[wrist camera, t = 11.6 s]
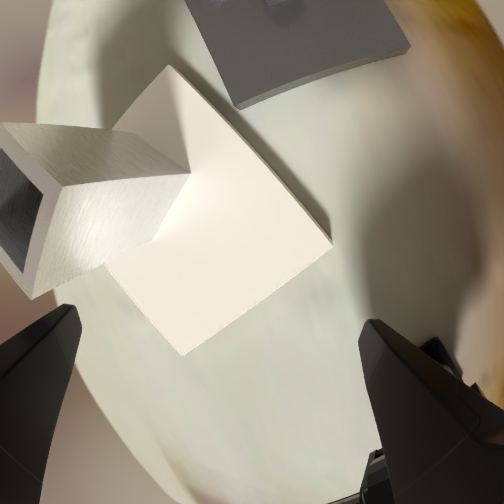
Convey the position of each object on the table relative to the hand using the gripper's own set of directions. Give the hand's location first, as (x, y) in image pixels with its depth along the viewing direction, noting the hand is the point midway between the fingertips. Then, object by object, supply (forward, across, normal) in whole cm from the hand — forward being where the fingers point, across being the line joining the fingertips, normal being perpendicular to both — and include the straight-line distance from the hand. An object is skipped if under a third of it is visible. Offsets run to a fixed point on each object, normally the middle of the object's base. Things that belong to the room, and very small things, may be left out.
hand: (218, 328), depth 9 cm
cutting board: (+14, +3, +2) cm, 14 cm away
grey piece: (+15, -2, -14) cm, 21 cm away
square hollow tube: (+13, +6, 0) cm, 14 cm away
